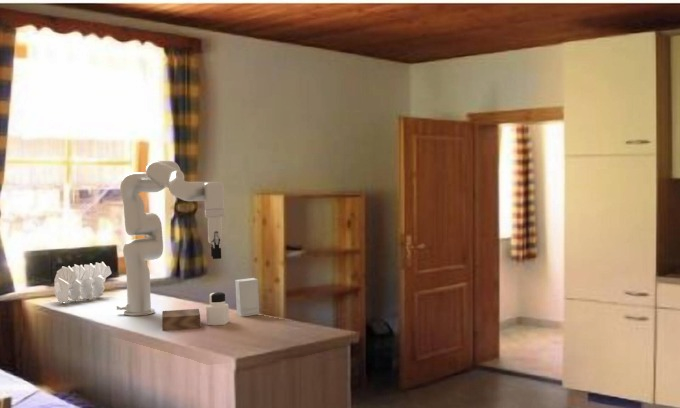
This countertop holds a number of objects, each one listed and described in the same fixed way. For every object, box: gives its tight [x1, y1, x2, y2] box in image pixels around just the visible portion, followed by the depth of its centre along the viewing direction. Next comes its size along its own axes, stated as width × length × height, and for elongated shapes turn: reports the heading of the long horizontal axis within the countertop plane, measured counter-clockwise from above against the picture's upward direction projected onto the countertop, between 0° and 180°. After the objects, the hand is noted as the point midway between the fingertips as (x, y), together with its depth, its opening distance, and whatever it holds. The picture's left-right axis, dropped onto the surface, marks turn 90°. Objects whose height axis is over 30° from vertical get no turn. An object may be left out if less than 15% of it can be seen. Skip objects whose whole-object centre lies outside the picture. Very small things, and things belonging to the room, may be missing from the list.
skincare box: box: [234, 277, 260, 318], centre depth 301 cm, size 8×6×15 cm
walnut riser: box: [161, 308, 201, 332], centre depth 282 cm, size 14×14×5 cm
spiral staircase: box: [53, 261, 112, 303], centre depth 350 cm, size 18×18×25 cm
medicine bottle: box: [205, 291, 230, 326], centre depth 285 cm, size 7×7×12 cm
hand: (216, 257), depth 284 cm, fingers open, 9 cm apart
